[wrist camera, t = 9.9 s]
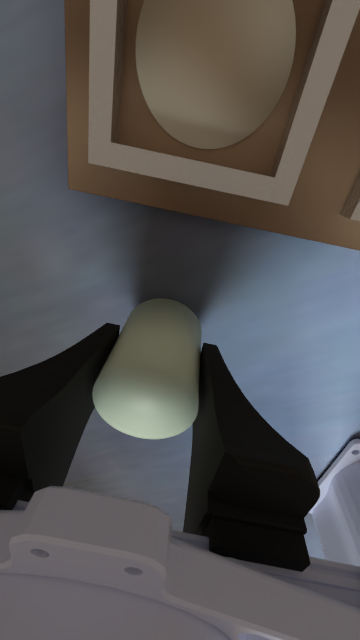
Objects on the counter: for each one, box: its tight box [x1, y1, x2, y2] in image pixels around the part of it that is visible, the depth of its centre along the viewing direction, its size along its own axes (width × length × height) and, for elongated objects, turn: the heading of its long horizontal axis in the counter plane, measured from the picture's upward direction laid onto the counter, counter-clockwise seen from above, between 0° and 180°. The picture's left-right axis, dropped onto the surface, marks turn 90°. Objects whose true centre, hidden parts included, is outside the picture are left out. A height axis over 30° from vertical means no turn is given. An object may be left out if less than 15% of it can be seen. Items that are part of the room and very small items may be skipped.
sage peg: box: [92, 298, 202, 439], centre depth 13 cm, size 4×4×5 cm
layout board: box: [65, 0, 360, 250], centre depth 9 cm, size 10×20×2 cm, turn 79°
